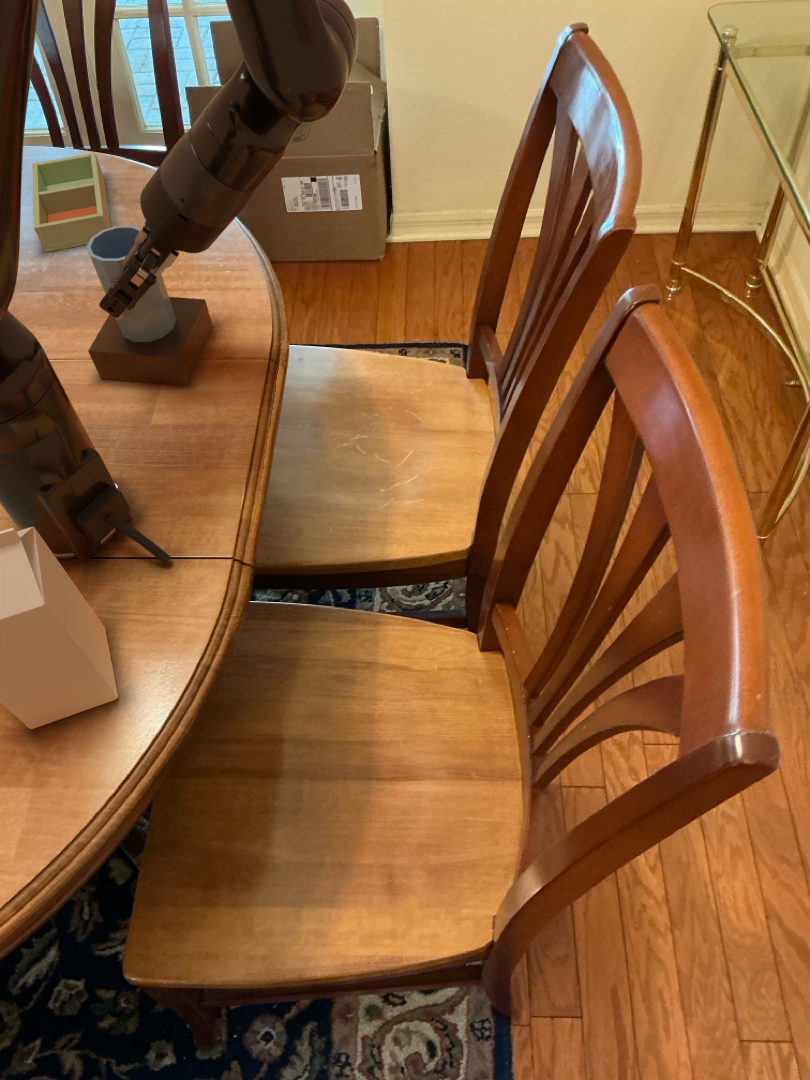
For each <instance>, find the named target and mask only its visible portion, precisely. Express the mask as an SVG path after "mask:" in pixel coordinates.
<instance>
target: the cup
mask: <svg viewBox="0 0 810 1080" xmlns="http://www.w3.org/2000/svg"><path fill="white" fill-rule="evenodd" d="M141 229H142V227H138V226H136V225H114V226H111V228H108V229H104V230H102V231H100V232H99V233H97V234H96V235H95V236H93V237H92V238H91V239H90V241H89V243H88V244H87V245H86V250H87V254H88V255H89V258H90V260H91V263H92V266H93V267H94V270H95V272H96V275H97V278H98V280H99V283H100V285H101V287H102V290H103V292H104V294H105V295H106V293H107V292H108V290H109V288H110V287H111V286H112V285H113V283H112V282H113V280H114V279H117V277H118V276H119V275H120V273H121V272H122V270H123V269H122V267H121V263H122V261H123V259H124V258H125V256H126V255H127V253H128V252H129V251H130V249H131V248H132V246H133V245H134V244H135V238H136V236H137V234H138V233H139V231H140V230H141ZM136 253H137V252H136ZM136 253H135V255H134V256H133V258H132V261H133V260H135V261H137V262H138V263H139V264H141V263H140V262H139V261H138V260H137V258H136ZM157 268H158V267H157ZM157 268H156V269H157ZM156 269H151V271H150V272H151V273H154V272H155V271H156ZM105 295H104V296H105ZM169 297H170V296H169V293H168V290H167V287H166V283H165V280H164V278H163V273H162V274H161V275H160V277H159V278H158V279H157V281H156V283H155V284H154V285H153V286H152V287H150V288H149V289H148V291H147V292H146V293H145V294H144V295H143V296H142V297H141V298H140V300H139V301H138V302H137V303H136V305H135V307H134V308H132V309H131V310H130V311H129V310H128V309H127V308H126V309H125V310H124V311H123V313H122V314H121V315H120V316H119V317H118V318H115V319H116V322H117V324H118V326H119V329H120V331H121V333H122V335H123V337H124V338H126V339H129V340H131V341H133V342H151V341H154V340H157V339H160V338H163V337H164V336H165V335H167V334H168V333H169V332H170V331H171V330H173V328H174V325H175V322H176V317H175V314H174V311H173V308H172V305H171V302H170V299H169Z"/></svg>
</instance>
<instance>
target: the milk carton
mask: <svg viewBox="0 0 810 1080" xmlns="http://www.w3.org/2000/svg"><path fill="white" fill-rule="evenodd" d="M118 698H119V693H118V689H117V683H116V678H115V672H114V667H113V662H112V657H111V652H110V646H109V640H108V636H107V631H106V628H105V626H104V624H103V622H102V621H101V620H100V618H99V617H98V615H97V614H96V613H95V612H94V610H93V608H92V607H91V606H90V604H89V603H88V602H87V600H86V599H85V597H84V596H83V594H82V593H81V592H80V590H79V588H78V587H77V586H76V585H75V583H74V581H73V580H72V578H71V577H70V575H69V574H68V573H67V571H66V570H65V569H64V567H63V566H62V564H61V563H60V562H59V559H56V557H55V556H54V554H53V553H52V552H51V550H50V549H49V547H48V546H47V545H46V543H45V542H44V540H43V539H42V537H41V536H40V535H39V533H38V532H37V530H36V529H35V528H34V527H30V528H27V529H23V530H20V529H19V530H17V531H16V529H15V528H13V527H10V528H6V529H3V530H0V704H1V705H2V706H3V707H5V708H6V709H7V711H9V712H10V713H11V714H12V715H14V716H15V717H16V718H17V719H18V720H19V721H20V722H21V723H22V724H23V725H25V727H26V728H28V729H30V730H33V729H36V728H39V727H40V728H41V727H42V726H45V725H48V724H51V723H53V722H56V721H59V720H62V719H65V718H68V717H71V716H73V715H76V714H80V713H82V712H85V711H87V710H90V709H93V708H97V707H99V706H101V705H105V704H107V703H111V702H113V701H115V700H117V699H118Z"/></svg>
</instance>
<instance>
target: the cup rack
mask: <svg viewBox="0 0 810 1080" xmlns="http://www.w3.org/2000/svg"><path fill="white" fill-rule="evenodd" d="M31 165H32V166H31V167H32V168H31V169H32V197H33V198H32V199H33V200H32V201H33V228H34V231H35V233H36V235H37V238H38V239H39V242H40V244H41V246H42V248H43V250H44V252H45V253H50V252H55V251H60V250H66V249H71V248H76V247H81V246H87V245H88V243H89V241H90V239H91V238H92V237H93V236H95V235H96V234H97V233H99V232H100V231H102V230H104V229H108V228H111V227H112V226H111V222H110V221H111V219H110V213H109V205H108V198H107V190H106V183H105V177H104V173H103V170H102V167H101V165H100V162H99V160H98V157H97V154H96V152H91V153H86V154H80V155H75V156H69V157H68V156H67V157H62V158H56V159H51V160H45V161H40V162H34V163H32V164H31Z"/></svg>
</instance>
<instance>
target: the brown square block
mask: <svg viewBox="0 0 810 1080" xmlns="http://www.w3.org/2000/svg"><path fill="white" fill-rule="evenodd" d="M169 299H170V302H171V305H172V308H173V311H174V314H175V317H176V322H175V325H174V328H173V330H171V331H170V332H169V333H168V334H167V335H165V336H164V337H163V338H160V339H157V340H154V341H151V342H133V341H131V340H129V339H126V338H124V337H123V335H122V333H121V331H120V329H119V326H118V324H117V322H116V319H115V317H113V316H111V315H110V314H109V313H108V315H107V318H106V320H105V321H104V323H103V325H102V327H101V328H100V330H99V331H98V333H97V334H96V337H95V338H94V340H93V342H92V344H91V345H90V347H89V348H88V351H87V352H88V355H89V356H90V358H91V361H92V363H93V365H94V367H95V369H96V372H97V373H98V376H99V378H100V379H101V380H107V381H108V380H110V381H120V382H132V383H144V384H153V385H154V384H155V385H166V386H177V387H179V386H180V387H188V385H189V383H190V380H191V377H192V376H193V373H194V371H195V369H196V366H197V364H198V362H199V360H200V358H201V356H202V354H203V351H204V350H205V347H206V345H207V343H208V340H209V338H210V336H211V334H212V331H213V330H214V325H213V322H212V318H211V315H210V311H209V308H208V303H207V300H206V299H205V298H193V297H192V298H190V297H181V296H180V297H179V296H177V297H176V296H169Z"/></svg>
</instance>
